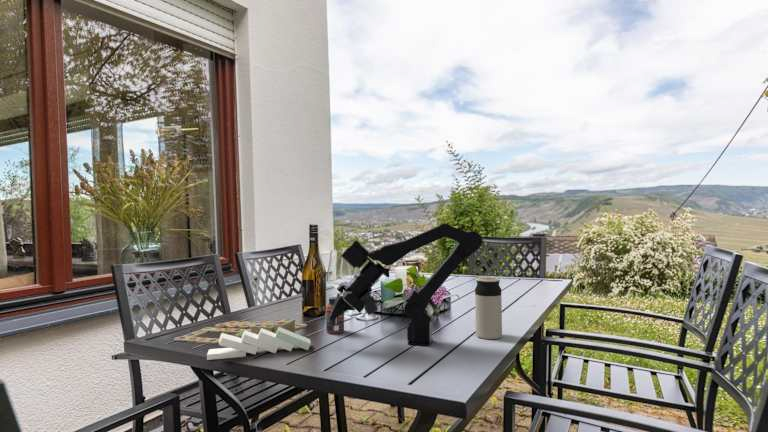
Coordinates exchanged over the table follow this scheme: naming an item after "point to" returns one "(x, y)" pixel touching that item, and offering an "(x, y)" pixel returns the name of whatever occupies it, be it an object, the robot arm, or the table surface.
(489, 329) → the travel mug
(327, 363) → the table surface
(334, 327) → the supplement bottle
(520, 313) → the table surface
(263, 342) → the domino
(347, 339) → the table surface
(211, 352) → the domino
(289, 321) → the pile of dominoes
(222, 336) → the domino
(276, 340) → the domino
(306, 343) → the domino
